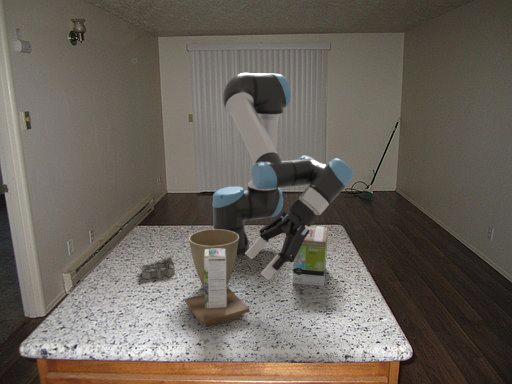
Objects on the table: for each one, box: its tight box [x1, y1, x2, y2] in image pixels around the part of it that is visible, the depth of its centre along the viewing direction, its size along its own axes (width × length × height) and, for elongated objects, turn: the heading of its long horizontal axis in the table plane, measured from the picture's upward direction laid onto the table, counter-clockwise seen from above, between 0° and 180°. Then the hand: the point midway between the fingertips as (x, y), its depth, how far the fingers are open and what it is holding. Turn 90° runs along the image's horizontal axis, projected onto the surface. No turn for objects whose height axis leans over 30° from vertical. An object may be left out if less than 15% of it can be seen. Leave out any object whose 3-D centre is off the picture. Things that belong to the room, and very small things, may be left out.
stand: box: [184, 287, 250, 329], centre depth 105 cm, size 13×13×3 cm
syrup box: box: [204, 248, 228, 309], centre depth 104 cm, size 6×6×14 cm
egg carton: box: [140, 256, 176, 280], centre depth 130 cm, size 11×8×4 cm
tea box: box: [292, 225, 329, 287], centre depth 127 cm, size 15×10×15 cm
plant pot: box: [188, 228, 239, 290], centre depth 120 cm, size 15×15×16 cm
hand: (255, 266), depth 106 cm, fingers open, 13 cm apart
